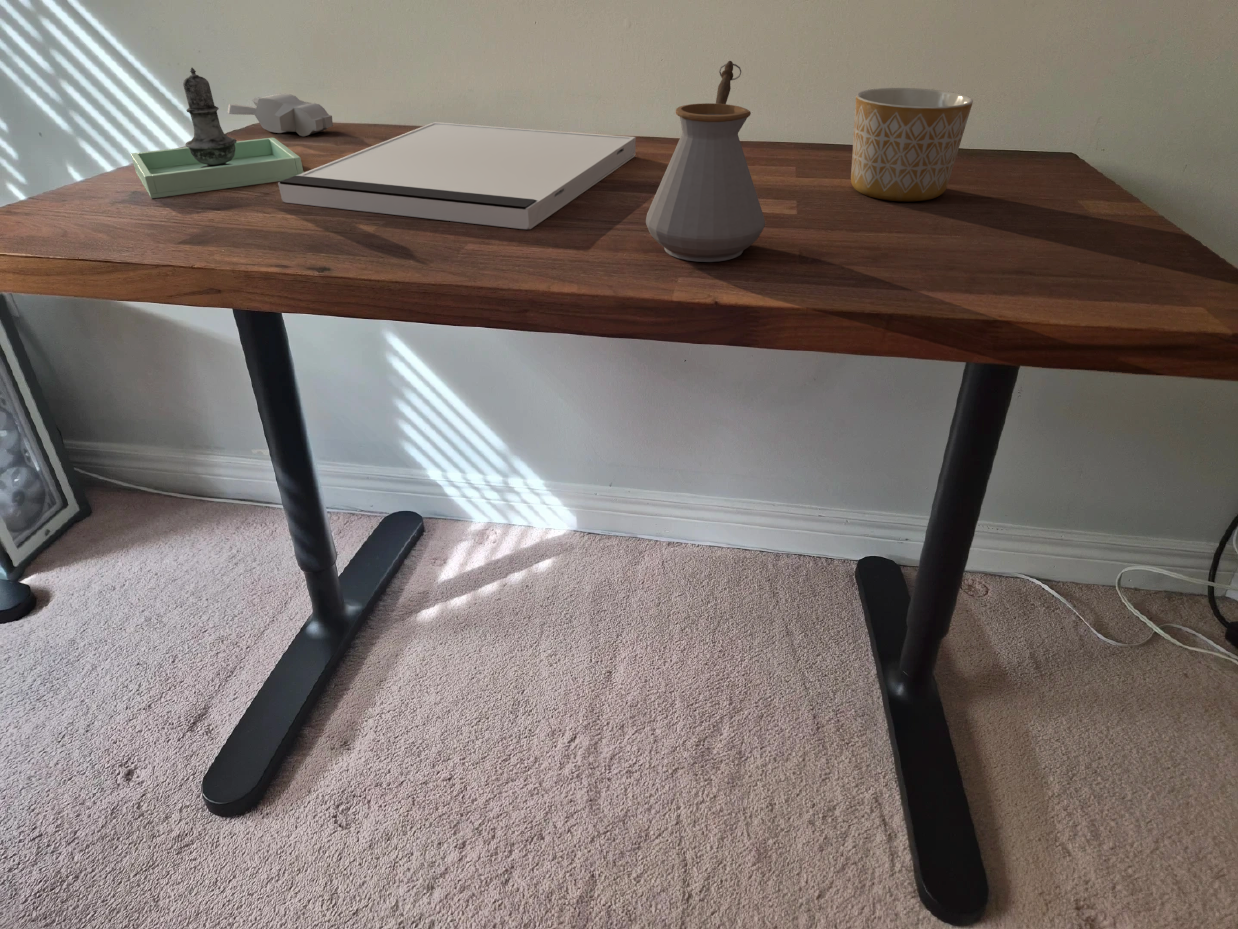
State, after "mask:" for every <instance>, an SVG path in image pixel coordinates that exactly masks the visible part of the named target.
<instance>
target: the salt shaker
mask: <svg viewBox="0 0 1238 929" xmlns="http://www.w3.org/2000/svg"><path fill="white" fill-rule="evenodd" d="M196 72H197V70H195V68H193V67H190V70H189V73H190V74H189V76H187V77H186V78H185V79H183V82H182V83H183V84H182V86H183V89H184V93H185V97H186V100H187V104H188V108H187V109H186V113H189V115H190V118H191V123H192V126H193V137H192V139H191V140H188V141H186V142H185V144H184V145H185V147H188V148H189V149H190V153H191V154H192V156H193V157H194V158H195V159H196V160H197V161H198V162H200V163H202V164H207V165H206V166H203V167H201V168H207V167H215V166H223V165H231V164H227V162H229V161H231V160H232V158H233V157H234V155H235V149H236V148H235V143H236V142H237V141H238V140H237V139H236V138H234V137H230V136H228V135H226V134H225V132H224V130H223V127H222V126H221V123H220V120H219V115H218V110H219V107H218V106H217V105H215V102H214V98H213V95H212V89H211V86H210V83H209V81H208V79H206V78H205V77H203V76H200V75H199V74H197V73H196Z"/></svg>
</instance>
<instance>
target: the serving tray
mask: <svg viewBox="0 0 1238 929" xmlns="http://www.w3.org/2000/svg"><path fill="white" fill-rule="evenodd" d="M235 148H236V149H235V155H234V157H233V158H232V160H231V161H229V162H227V164H231V165H223V166H215V167H207V168H201V167H203V166H206V165H207V164H202V163H200V162H198V161H197V160H196V159H195V158H194V157H193V156H192V154H191V153H190V149H189V148H188V147H187V146H183V147H176V148H167V149H158V150H149V151H140V152H132V153H131V152H130V156H131V161H132V164H133V166H134V170H135V173H136V175H137V177H138V178H139V180H140V183H141V184H142V185H143V187H144V189H145V190H146V192H147V194H148V195H149V197H150V199H159V198H167V197H174V196H182V195H188V194H195V193H202V192H211V191H217V190H218V191H219V190H226V189H233V188H239V187H247V186H254V185H262V184H271V183H278V182H280V181H282V180H285V179H288V178H290V177H293V176H296V175H299V174H302V173H304V172H305V171H304V168H303V163H302V158H301V157H300V156H299V155H298V154H296V153H295V152H294V151H292V150H291V149H290V148H289V147H287V146H286V145H285V144H283V143H282V142H280V141H279V140H278V139H277V138H275V137H265V138H256V139H248V140H247V139H246V140H237V141H236V143H235Z"/></svg>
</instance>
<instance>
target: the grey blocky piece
mask: <svg viewBox="0 0 1238 929" xmlns="http://www.w3.org/2000/svg"><path fill="white" fill-rule="evenodd" d="M251 101H252V102H253V105H254V106H253V105H246V104H236V103H229V104H228V108H227V114H228V115H235V116H236V115H237V116H238V115H240V116H241V115H243V116H245V115H247V116H251V115H252V116H253V115H254V116H255V118H256V121H258V123H259V124H260V126H261V127H262V129H263V130H265V131H268V132H269V133H275V134H276V133H277V134H282V133H297V135H299V136H300V137H306V136H309V135H314V134H317V133H321V132H324V131H326V130H327V129H328V128H331V127H333V126H334V123H333V115H331V114H329V113H328V112H327V110H326V109H325V107H323V106H322V105H321V104H320V103H316V102H308V101H304V100H301V99H299V97H297V96H296V95H294V94H291V93H287V92H279V93H275V94H271V95H267V96H261V97H260V96H259V97H255V98H253V99H252V100H251Z"/></svg>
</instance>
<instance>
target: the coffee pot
mask: <svg viewBox="0 0 1238 929" xmlns="http://www.w3.org/2000/svg"><path fill="white" fill-rule="evenodd" d="M734 67H736V68H738V70H739V73H738V74H739V75H738V76H736V77H734V72H733V71H734ZM722 68H724V70H723V71H722ZM718 72H719V75H720V77H721V80H720V82H719V84H718V85H717V92H716V98H715V103H710V102H709V103H708V102H706V103H705V102H703V103H690V104H684V105H679V106H678V107H676V108H675V114H676V116H678V117H679V121H680V126H681V132H682V133H681V134H680V138H679V140H678V142H677V144H676V147H675V149H674V152H673V153H672V156H671V158H670V160H669V163H668V165H667V167H666V169H665V172H664V174H663V176H662V178H661V181H660V183H659V186H658V188H657V190H656V193H655V195H654V197H653V199H652V201H651V204H650V206H649V208H648V211H647V213H646V218H645V225H646V227H647V230H648V232H649V234H650V235H651V237H652V238H653V239H654V241H656V243H658V245H660V246H661V247H662V248H663V250H664V251H665V253H666V254H668V255H669V256H672V257H674V258H676V259H680V260H685V261H689V262H697V263H699V262H701V263H714V262H716V263H717V262H724V261H729V260H733V259H736V258H737V257H739V256H741V255H742V253H743V252H744V250H746V249H748V248H749V247H752V245H753V244H754V243H755V242H756V241H757V240H758V238H759V237H760V236H761V234H762V232H763V230H764V228H765V226H766V221H765V216H764V212H763V209H762V207H761V203H760V200H759V197H758V194H757V190H756V186H755V184H754V182H753V178H752V175H751V172H750V169H749V165H748V162H747V159H746V155H745V152H744V149H743V146H742V142H741V141H740V137H739V132H740V131H741V129H742V127H743V126H744V124H745V123H746V121H747V120H748V118H749V117H750V116H751V115H752V114H751V113H752V112H751V111H750V110H749V109H747V108H745V107H742V106H739V105H734V104H727V101H728V98H729V95H730V92H731V89H732V88H731V81H735V80H738V79H739V78H740V77H741V75H742V69H741V66H739V65H738V64H736V63H733V61H732V60H728V61H727V62H726V63H725V64H723V65H721V66H720V68H719V71H718Z"/></svg>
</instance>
